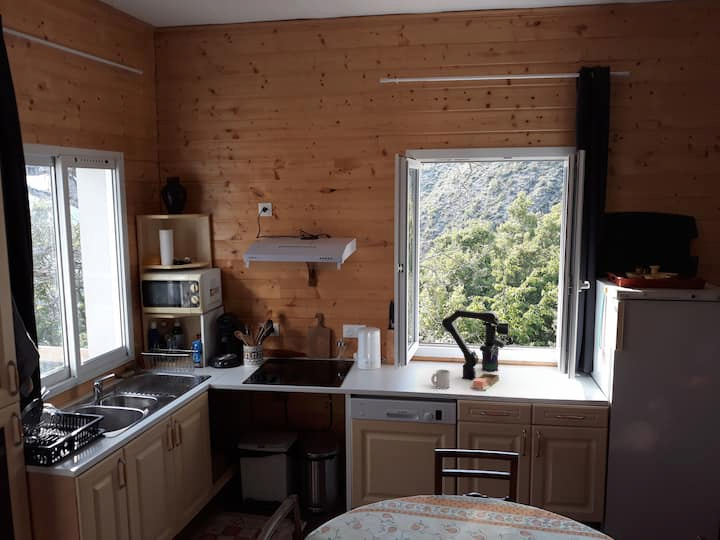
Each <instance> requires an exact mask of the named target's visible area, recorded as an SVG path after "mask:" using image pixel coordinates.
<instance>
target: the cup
mask: <svg viewBox="0 0 720 540" xmlns="http://www.w3.org/2000/svg"><path fill="white" fill-rule="evenodd" d="M435 378H436V381H435ZM431 383H432V384H433V386H434V385H435V386H436V388H437V387H439V388H438V389H440V388H447V387H449V388H450V370H448V369H438V370H436V371H435V373H433V374H432V376H431ZM447 389H448V388H447Z"/></svg>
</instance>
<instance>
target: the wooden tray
mask: <svg viewBox="0 0 720 540" xmlns="http://www.w3.org/2000/svg"><path fill="white" fill-rule="evenodd" d="M477 378H482V379H486V387H485V388H483V389H479V388H473V384H472V385H471V386H470V388H471V389H470V390H475V389H476V391H482V392H486V391H488V390H489V389H490V388H491V387H492V386H493V384H494V383H495V384H496V383H498V382H499V379H500V374H494V373H489V372H488V373H487V372H484V373H482V374H481V375H479V377H477ZM495 384H494V385H495ZM487 389H488V390H487Z"/></svg>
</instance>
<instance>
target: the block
mask: <svg viewBox="0 0 720 540" xmlns="http://www.w3.org/2000/svg"><path fill="white" fill-rule="evenodd" d="M472 385H473V388H479V389H483V388H485V387H486V379H482V378H478V377H476V378H474V379H473V380H472Z"/></svg>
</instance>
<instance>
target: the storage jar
mask: <svg viewBox="0 0 720 540" xmlns="http://www.w3.org/2000/svg"><path fill="white" fill-rule="evenodd" d="M483 345H486V344H484V343H483ZM494 346H495V347H497V349H495V350H494V352H493V355H492V359H491V360H489V359H488V357H487V355H486V353H485V351H481V355H482V360H481V370H482V371H483V372H486V371H487V372H488V373H496V372H498V371H499V352H500V351H499V346H496V345H494ZM495 371H496V372H495ZM487 372H486V373H487Z"/></svg>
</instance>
